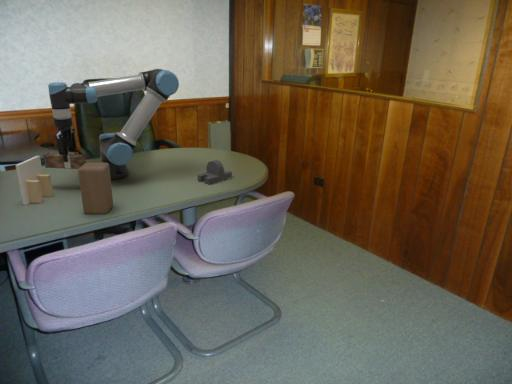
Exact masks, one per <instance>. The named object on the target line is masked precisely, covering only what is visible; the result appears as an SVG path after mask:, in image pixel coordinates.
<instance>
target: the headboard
mask: <svg viewBox="0 0 512 384" xmlns="http://www.w3.org/2000/svg"><path fill="white" fill-rule="evenodd" d="M15 170H16V175H17V179H18V180H17V181H18V186H19V191H20V196H21V202H22V205H25V206H27V205H29V204H43V202H44V197H50V198H51V197H53V196H54V191H53V184H52V179H51V174H44V172H43V166H42V161H41V155H35V156H33V157H31V158H29V159H26V160H24V161H22V162H19V163H17V164H15Z"/></svg>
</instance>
